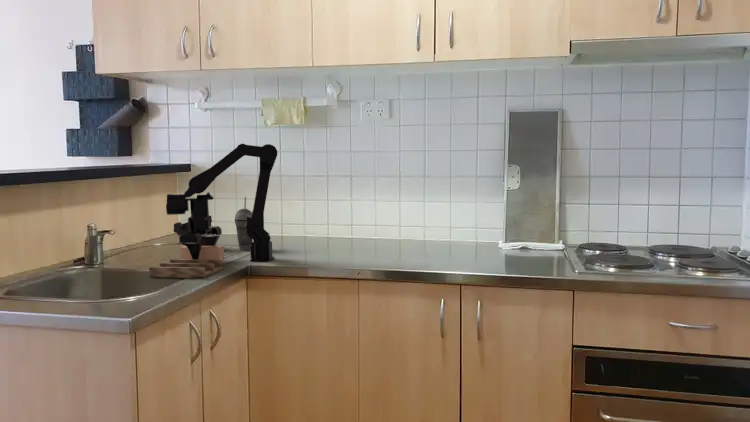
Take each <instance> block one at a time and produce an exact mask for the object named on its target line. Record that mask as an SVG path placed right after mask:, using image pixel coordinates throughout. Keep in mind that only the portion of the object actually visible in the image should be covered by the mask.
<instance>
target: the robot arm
mask: <svg viewBox="0 0 750 422" xmlns="http://www.w3.org/2000/svg"><path fill="white" fill-rule="evenodd" d="M245 156H246V157H248V156H249V157H255V158H259V173H258V178H257V179H258V180H257V183H256V184H257V185H256V191H255V196H254V200H253V201H254V202H253V209H252V211H251V212H252V214H251V216H250V215H247V222H246V224H245V229H246V228H247V235H248V236H249V237H250V238H252V243H251V245H252V246H251V247H250V251H249V252H250V260H249V262H270V261H272V260H274V259H275V256H274V255H273V242H272V240H271V239H272V238H271V235H270V234H271V233H269V232H268V231H267V230H266V229H265V219H264V218H265V216H264V215H265V214H264V213H265V207H266V201H267V195H268V190H269V184H270V177H271V172H272V170H273V168H274V166H275V163H276V160H277V157H278V149H277V147H276V146H274V145H273V144H270V143H269V144H268V143H266V144H264V145H262V146H261V145H260V146H259V145H250V144H246V143H240V144H238V145H237V146H236V147H235V148H234V149H232V151H230V152H229V153H227V154H226V155H225V156H223V158H221V159H220V160H218V161H217V162H216V163H215V164H214V165H212V166H211V167H209V168H208V169H206V170H203V171H202V172H200V173H198V174H197V175H195V176H193V177H191V178H190V179H189V181H188V188H187V190H185V191H184V194H183V193H181V194H180V193H179V194H173V193H167V195H166V205H165V207H166V208H165V210H166V214H167V216H173V215H174V216H175V215H176V216H177V215H186V213H187V212H189V209H190V217H188V218H187V222H184V223H182V222H181V221H179V222H175V223H173V232H174V233H176V235H177V236H178V242H179V244H182V246H186V247H187V248H188V249H189V251H190V254H191V256H192V259H196V260H198V259H199V255H200V250H201V246H202V242H200V241H201V239H203V240H204V242H205V246H217V245H216V244H217V243H218V241H219V238H220V236H221V235H222V233H223V232H222V228H221V227H220V226H219V225H216V226H215V225H211V226H209V219H212V215H210V213H209V212H210V210H209V201H211V200H214V199H215V197H214V196H213V195H211V193H210V192H207V193H206V194H202V193H204V192H205V191H206V190H207V189H208V187H209V186H210V185H211V184H212V183H213V182H214V181H215V180H216V179H217V177H218V176H219V175H221V174H222V173H224V172H225V171H227V170H228V169H229V168H230V167H231V166H233V165H234V164H235V163H236V162H238V161H239V160H240V159H242V158H243V157H245ZM195 194H197V195H196V197H192V196H194V195H195ZM189 202H190V204H189ZM189 205H190V207H189ZM212 220H213V219H212Z"/></svg>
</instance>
